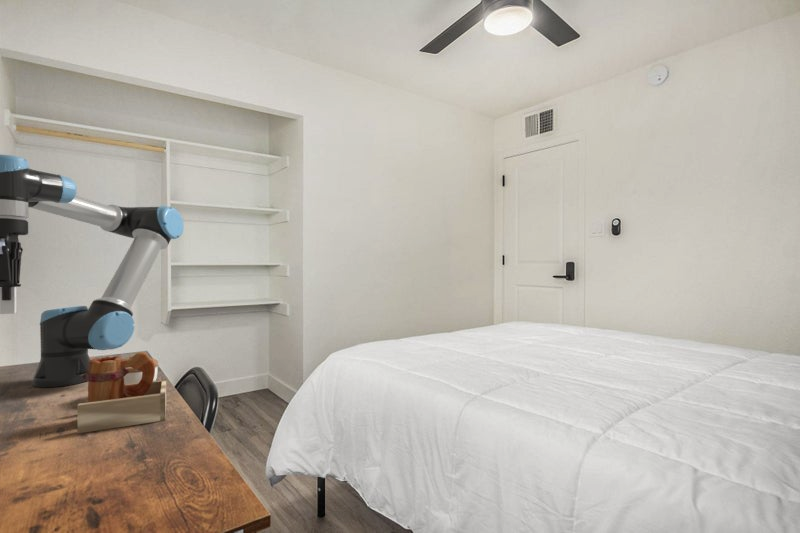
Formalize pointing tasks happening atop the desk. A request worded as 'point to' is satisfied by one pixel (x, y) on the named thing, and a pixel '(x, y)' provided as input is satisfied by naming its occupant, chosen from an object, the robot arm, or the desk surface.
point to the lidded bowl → (138, 374)
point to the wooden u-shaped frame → (124, 410)
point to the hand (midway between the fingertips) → (8, 313)
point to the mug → (118, 377)
